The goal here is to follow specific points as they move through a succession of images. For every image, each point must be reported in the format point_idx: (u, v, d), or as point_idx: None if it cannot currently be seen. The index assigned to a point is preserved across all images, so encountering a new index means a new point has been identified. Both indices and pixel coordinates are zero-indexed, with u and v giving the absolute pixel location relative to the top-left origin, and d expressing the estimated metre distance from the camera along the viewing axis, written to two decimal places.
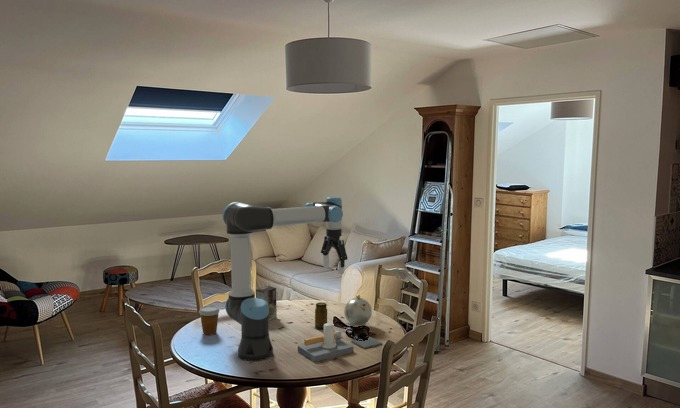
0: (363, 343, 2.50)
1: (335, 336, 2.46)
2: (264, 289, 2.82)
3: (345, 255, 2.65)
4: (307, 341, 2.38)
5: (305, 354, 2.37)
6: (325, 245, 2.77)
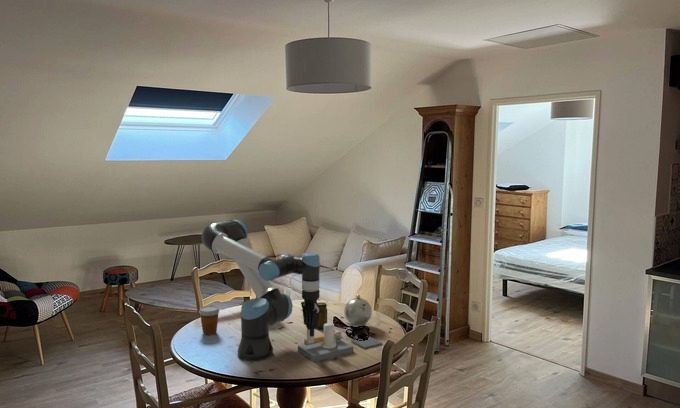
0: (363, 343, 2.50)
1: (335, 336, 2.46)
2: None
3: (316, 324, 2.34)
4: None
5: (305, 354, 2.37)
6: (305, 312, 2.40)
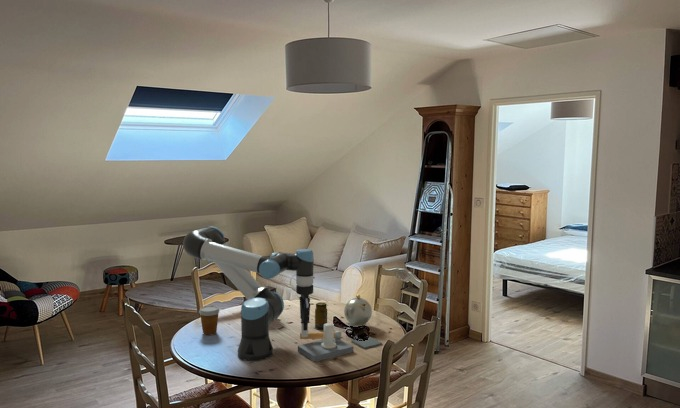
0: (363, 343, 2.50)
1: (334, 335, 2.47)
2: None
3: (307, 319, 2.41)
4: None
5: (305, 354, 2.37)
6: None
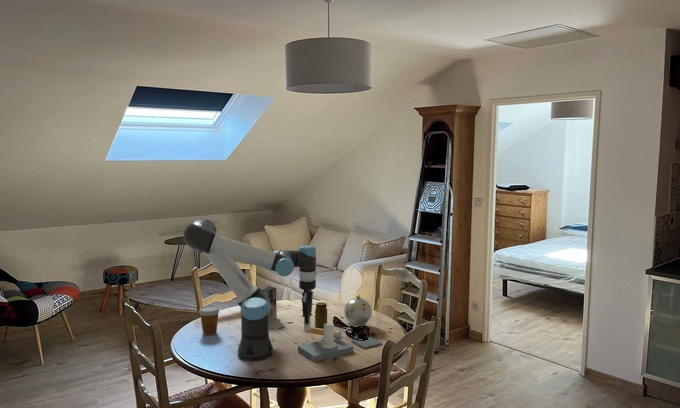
0: (363, 343, 2.50)
1: None
2: (264, 289, 2.82)
3: (306, 313, 2.48)
4: None
5: (305, 354, 2.37)
6: None
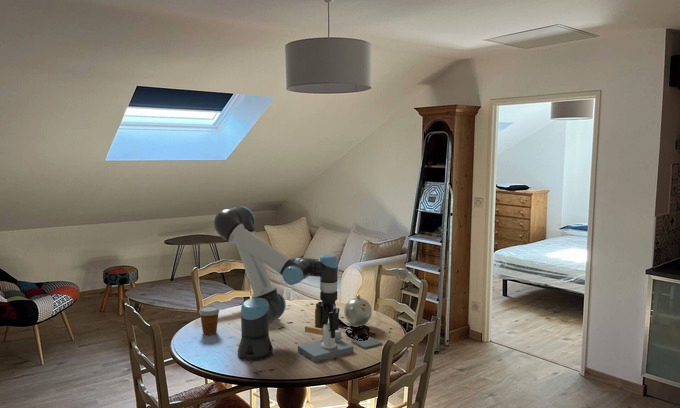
0: (363, 343, 2.50)
1: None
2: None
3: (337, 326, 2.36)
4: (306, 328, 2.55)
5: (305, 354, 2.37)
6: (322, 312, 2.44)
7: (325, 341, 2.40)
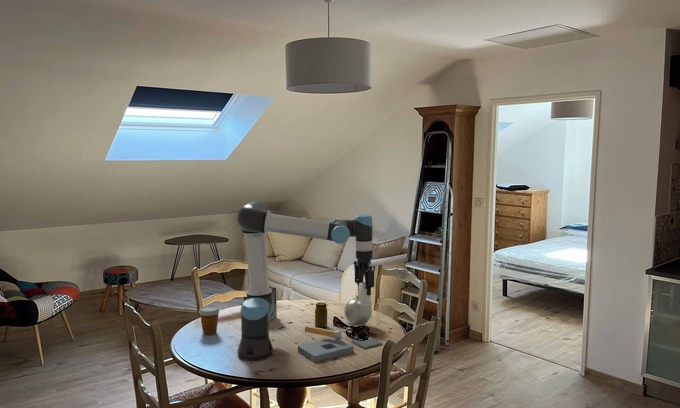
0: (363, 343, 2.50)
1: (333, 335, 2.48)
2: None
3: (372, 283, 2.43)
4: (306, 328, 2.55)
5: (305, 354, 2.37)
6: (357, 271, 2.51)
7: (361, 299, 2.47)
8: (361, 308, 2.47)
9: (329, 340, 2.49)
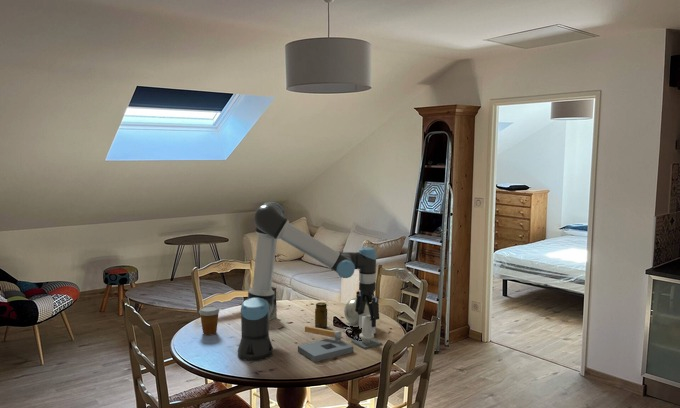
0: (363, 343, 2.50)
1: (333, 335, 2.48)
2: None
3: (377, 315, 2.45)
4: (306, 328, 2.55)
5: (305, 354, 2.37)
6: (359, 301, 2.54)
7: (363, 332, 2.50)
8: (363, 341, 2.50)
9: (329, 340, 2.49)
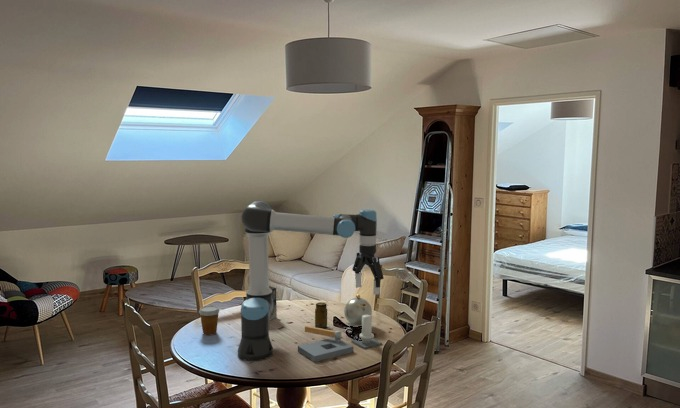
0: (363, 343, 2.50)
1: (333, 335, 2.48)
2: None
3: (381, 274, 2.41)
4: (306, 328, 2.55)
5: (305, 354, 2.37)
6: (357, 262, 2.53)
7: (363, 332, 2.50)
8: (363, 341, 2.50)
9: (329, 340, 2.49)
